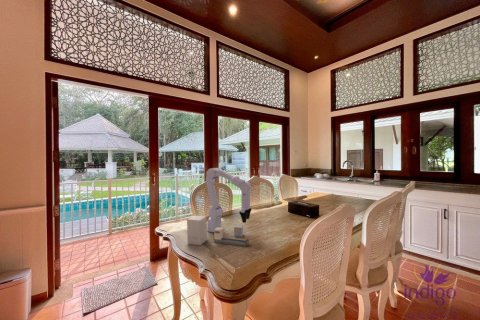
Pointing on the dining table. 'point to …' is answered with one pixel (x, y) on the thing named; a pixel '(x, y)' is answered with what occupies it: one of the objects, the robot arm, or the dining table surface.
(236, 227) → the block
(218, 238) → the beige rectangular block
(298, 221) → the dining table surface
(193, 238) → the supplement box
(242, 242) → the rail
